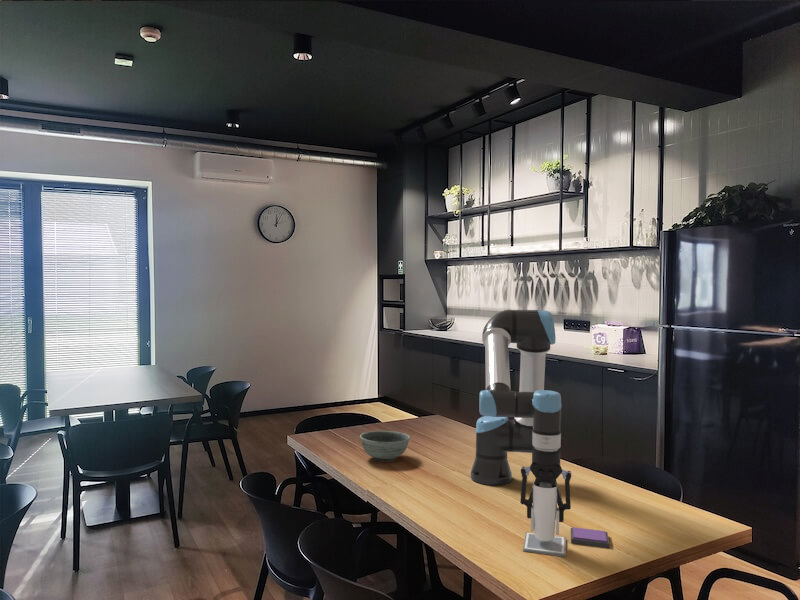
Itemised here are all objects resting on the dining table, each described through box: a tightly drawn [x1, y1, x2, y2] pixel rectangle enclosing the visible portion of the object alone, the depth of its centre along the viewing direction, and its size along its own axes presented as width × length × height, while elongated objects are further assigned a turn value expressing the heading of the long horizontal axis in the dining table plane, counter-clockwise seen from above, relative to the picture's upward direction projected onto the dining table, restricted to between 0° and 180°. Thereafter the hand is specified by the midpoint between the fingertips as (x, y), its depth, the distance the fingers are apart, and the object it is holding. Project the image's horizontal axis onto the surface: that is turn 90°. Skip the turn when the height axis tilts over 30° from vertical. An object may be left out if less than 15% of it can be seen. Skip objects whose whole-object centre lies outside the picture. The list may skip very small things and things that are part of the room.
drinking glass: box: [532, 481, 559, 541], centre depth 157 cm, size 7×7×15 cm
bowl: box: [359, 430, 411, 463], centre depth 236 cm, size 21×21×10 cm
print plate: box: [522, 532, 567, 558], centre depth 157 cm, size 11×11×1 cm
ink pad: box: [570, 527, 610, 549], centre depth 161 cm, size 10×8×2 cm
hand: (544, 531), depth 157 cm, fingers closed on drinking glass, 6 cm apart
